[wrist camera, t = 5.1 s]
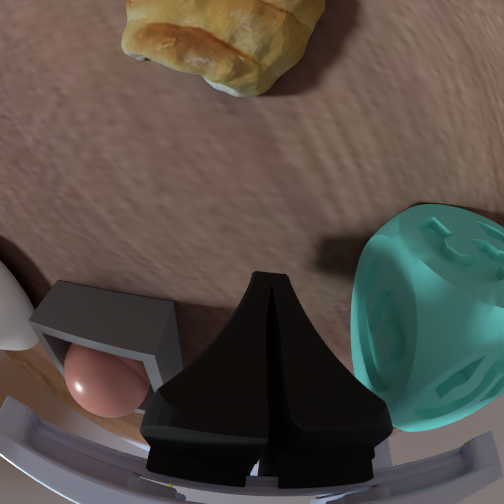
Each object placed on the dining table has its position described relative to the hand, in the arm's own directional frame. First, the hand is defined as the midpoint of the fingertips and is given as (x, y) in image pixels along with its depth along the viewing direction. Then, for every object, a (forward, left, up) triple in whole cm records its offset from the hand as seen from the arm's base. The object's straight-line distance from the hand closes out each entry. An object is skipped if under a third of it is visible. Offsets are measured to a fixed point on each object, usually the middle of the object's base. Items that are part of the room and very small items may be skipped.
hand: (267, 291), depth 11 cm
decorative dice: (0, -9, -3) cm, 9 cm away
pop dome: (-8, +9, -2) cm, 13 cm away
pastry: (+12, +3, -3) cm, 12 cm away
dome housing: (-8, +9, -3) cm, 13 cm away
